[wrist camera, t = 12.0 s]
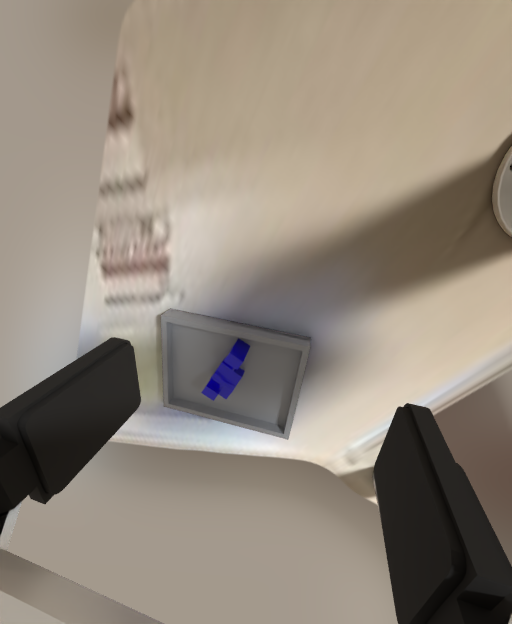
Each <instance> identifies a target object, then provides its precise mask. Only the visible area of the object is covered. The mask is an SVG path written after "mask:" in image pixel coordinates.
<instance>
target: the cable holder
mask: <svg viewBox="0 0 512 624" xmlns="http://www.w3.org/2000/svg"><path fill="white" fill-rule="evenodd" d="M249 349H250V345H248V344H247V343H245V342H244V341H242V340H241V339H239V338H238V339H237V341H236V342H235V343H234V345H233V346H232V348H231V349H230V350H229V352H228V353H227V355H226V356H225V358H224V359H223V360H222V362H221V363H220V365H219V366H218V367H217V369H216V370H215V372H214V373H213V374H212V376H211V378H210V379H209V381H208V382H207V384H206V386H205V387H204V389H203V391H202V392H201V393H202V394H204V395H205V396H207V397H208V398H210V399H211V400H213V401H214V400H215V398H216V397H217V396H218V394H219V395H220V396H222V397H223V398H225V399H227V398H228V397H229V395H230V394H231V393H232V392H233V390H234V388H235V387H236V385H237V384H238V382H239V381H240V380H241V378H242V377H243V374H244V372H245V371H244V370H243V369H241V368H240V366H241V364H242V363H243V362H244V359H245V357H246V355H247V353H248V351H249Z"/></svg>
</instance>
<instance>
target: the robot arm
mask: <svg viewBox="0 0 512 624" xmlns="http://www.w3.org/2000/svg"><path fill="white" fill-rule="evenodd" d="M510 165H512V146H511V147H510V149H509V150H508V152H507V153H506V155H505V156H504V158H503V160H502V162H501V164H500V166H499V169H498V171H497V174H496V177H495V181H494V184H493V193H492V203H493V211H494V214H495V216H496V219H497V221H498V223H499V225H500V226H501V227H502V229H503V230H504V231H505V232H506V233H507V234H508V235H509V236H511V237H512V168H511V170H510ZM140 402H141V397H140V390H139V382H138V375H137V368H136V361H135V354H134V348H133V346H132V345H131V343H130V342H129V341H128V340H124V339H120V338H110V339H109V340H107V341H105V342H104V343H102V344H101V345H99V346H98V347H96V348H94V349H93V350H91V351H90V352H88V353H86V354H85V355H83V356H82V357H80V358H78V359H77V360H75V361H74V362H72V363H71V364H69V365H67V366H66V367H64V368H63V369H61V370H59V371H58V372H56V373H55V374H53V375H52V376H50V377H48V378H47V379H45V380H44V381H42V382H40V383H39V384H37V385H36V386H34V387H33V388H31V389H29V390H28V391H26V392H24V393H23V394H21V395H20V396H18V397H17V398H15V399H13V400H12V401H10V402H9V403H7V404H5V405H4V406H2V407H1V408H0V624H164V623H162V622H159V621H157V620H155V619H153V618H151V617H148V616H147V615H144V614H142V613H140V612H138V611H136V610H134V609H131V608H129V607H127V606H125V605H123V604H121V603H119V602H116V601H114V600H112V599H110V598H108V597H106V596H103V595H101V594H99V593H97V592H95V591H93V590H90V589H88V588H86V587H84V586H82V585H80V584H78V583H75V582H73V581H71V580H69V579H67V578H65V577H62V576H60V575H58V574H56V573H54V572H51V571H49V570H47V569H45V568H43V567H41V566H38V565H36V564H34V563H32V562H30V561H28V560H25V559H23V558H21V557H19V556H17V555H14V554H12V553H10V552H8V551H7V548H8V545H9V541H10V538H11V535H12V532H13V528H14V525H15V522H16V519H17V515H18V512H19V509H20V505H21V502H22V500H23V499H25V498H26V497H27V495H29V496H30V498H31V499H33V500H35V501H38V502H40V503H43V504H46V503H47V502H48V501H49V500H50V499H51V497H52V496H53V495H54V494H57V493H59V492H61V491H62V490H63V489H64V488H65V487H66V486H67V485H68V484H69V483H70V481H71V480H72V479H73V478H74V477H75V476H76V475H77V474H78V473H79V471H80V470H82V468H83V467H84V466H85V465H86V464H87V463H88V462H89V461H90V460H91V459H92V458H93V457H94V455H95V454H96V453H97V452H98V451H99V450H100V449H101V448H102V447H103V446H104V444H106V442H107V441H108V440H109V439H110V438H111V437H112V436H113V435H114V434H115V433H116V432H117V431H118V429H119V428H120V427H121V426H122V425H123V424H124V423H125V422H126V421H127V420H128V419H129V417H130V416H131V415H132V414H133V413H134V412H135V411H136V410H137V409H138V407H139V405H140ZM374 479H375V485H376V492H377V498H378V504H379V510H380V517H381V522H382V529H383V535H384V542H385V548H386V553H387V560H388V567H389V572H390V579H391V585H392V592H393V598H394V604H395V610H396V616H397V621H398V624H512V567H511V564H510V562H509V560H508V558H507V556H506V554H505V552H504V550H503V548H502V546H501V544H500V542H499V540H498V538H497V536H496V534H495V532H494V530H493V528H492V526H491V524H490V522H489V520H488V518H487V516H486V514H485V512H484V510H483V508H482V506H481V504H480V502H479V500H478V498H477V496H476V494H475V492H474V490H473V488H472V486H471V484H470V482H469V480H468V478H467V476H466V474H465V472H464V470H463V469H462V467H461V466H460V465H459V464H458V463H455V460H454V458H453V456H452V454H451V453H450V450H449V448H448V446H447V444H446V442H445V440H444V437H443V435H442V433H441V431H440V429H439V427H438V425H437V423H436V421H435V419H434V417H433V414H432V412H431V411H430V409H429V408H426V407H422V406H417V405H413V404H408V403H407V404H405V405H404V407H398V408H397V410H396V413H395V415H394V418H393V420H392V423H391V425H390V428H389V430H388V432H387V435H386V437H385V440H384V442H383V445H382V447H381V450H380V452H379V455H378V457H377V460H376V462H375V466H374Z"/></svg>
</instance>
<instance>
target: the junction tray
mask: <svg viewBox="0 0 512 624" xmlns="http://www.w3.org/2000/svg"><path fill="white" fill-rule="evenodd" d="M161 336H162V368H163V400H164V407H168V408H172V409H176V410H179V411H183V412H187V413H191V414H194V415H198V416H202V417H206V418H209V419H213V420H217V421H221V422H224V423H228V424H232V425H236V426H239V427H243V428H247V429H250V430H254V431H258V432H262V433H265V434H269V435H273V436H277V437H280V438H284V439H289V435H290V430H291V426H292V422H293V418H294V414H295V410H296V405H297V401H298V397H299V393H300V389H301V385H302V380H303V376H304V372H305V368H306V364H307V360H308V355H309V351H310V347H311V338H310V337H305V336H301V335H296V334H291V333H286V332H281V331H276V330H272V329H267V328H262V327H257V326H252V325H247V324H243V323H238V322H233V321H228V320H223V319H218V318H214V317H209V316H204V315H199V314H194V313H189V312H185V311H180V310H175V309H169V310H168V311H166V312H165V313H163V314H162V315H161ZM238 338H239V339H241V340H242V341H244V342H245V343H247V344H248V345H250V349H249V351H248V353H247V355H246V357H245V359H244V362H243V363H242V364H241V366H240V368H241V369H243V370H244V371H245V372H244V374H243V377H242V378H241V380H240V381H239V382H238V384H237V385H236V387H235V388H234V390H233V392H232V393H231V394H230V395H229V397H228V398H227V399H225V398H223V397H222V396H220V395H219V394H218V396H217V397H216V398H215V400H214V401H213V400H211V399H210V398H208V397H207V396H205V395H204V394H202V393H201V392H202V391H203V389H204V387H205V386H206V384H207V382H208V381H209V379H210V378H211V376H212V374H213V373H214V372H215V370H216V369H217V367H218V366H219V365H220V363H221V362H222V360H223V359H224V358H225V356H226V355H227V353H228V352H229V350H230V349H231V348H232V346H233V345H234V343H235V342H236V341H237V339H238Z"/></svg>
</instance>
